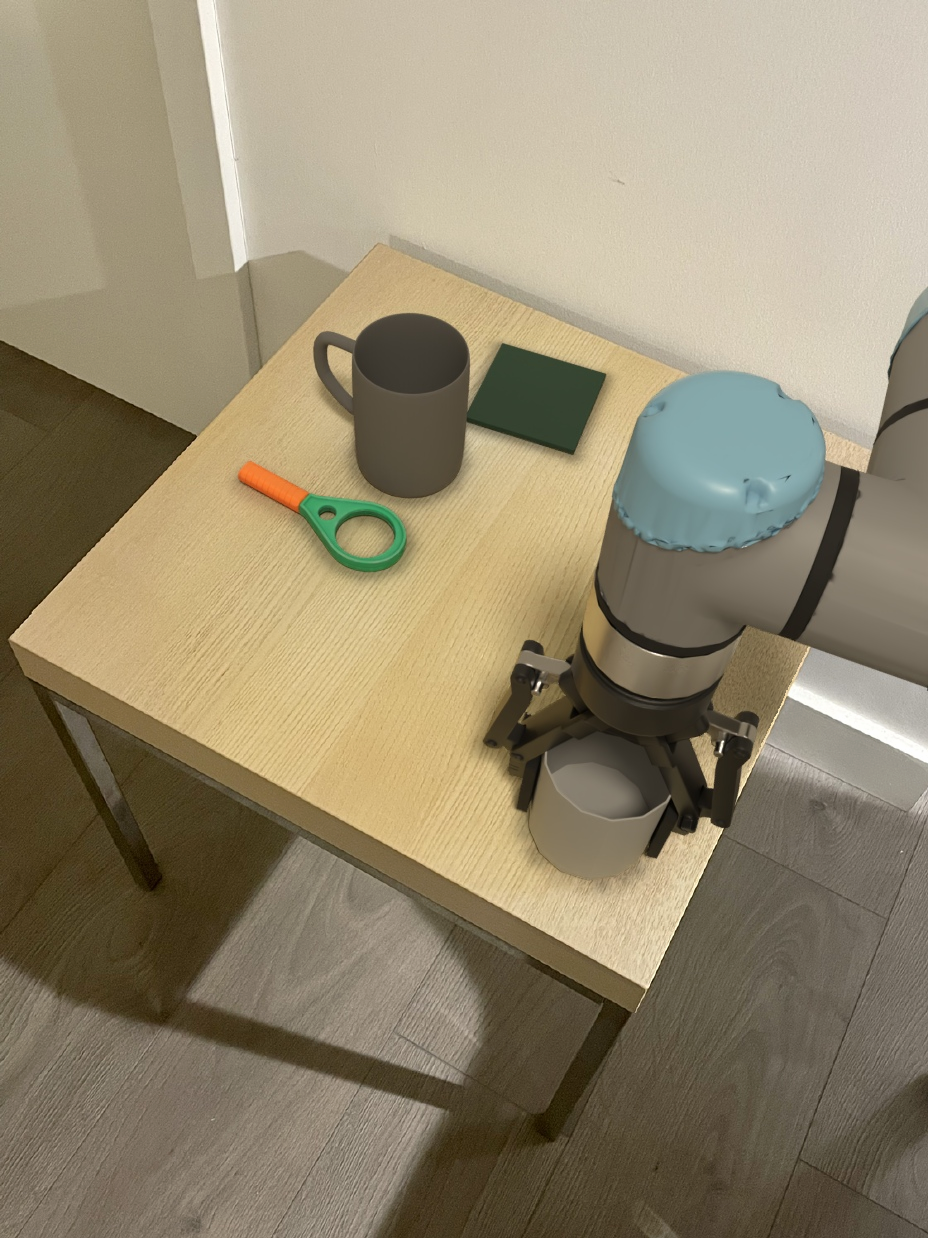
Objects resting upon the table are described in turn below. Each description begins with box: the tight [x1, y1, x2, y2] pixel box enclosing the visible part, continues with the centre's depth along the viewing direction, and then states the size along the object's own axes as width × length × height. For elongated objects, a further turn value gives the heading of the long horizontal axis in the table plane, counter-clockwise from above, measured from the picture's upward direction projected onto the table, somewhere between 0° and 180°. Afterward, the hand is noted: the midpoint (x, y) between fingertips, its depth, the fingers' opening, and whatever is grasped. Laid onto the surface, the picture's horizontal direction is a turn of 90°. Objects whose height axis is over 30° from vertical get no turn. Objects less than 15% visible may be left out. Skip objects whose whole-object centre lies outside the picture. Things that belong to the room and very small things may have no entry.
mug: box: [312, 312, 471, 499], centre depth 86 cm, size 14×9×12 cm
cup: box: [528, 731, 671, 881], centre depth 69 cm, size 8×8×10 cm
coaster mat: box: [466, 342, 607, 456], centre depth 95 cm, size 10×10×1 cm
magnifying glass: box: [237, 460, 407, 573], centre depth 86 cm, size 15×6×2 cm, turn 59°
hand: (591, 815), depth 73 cm, fingers closed on cup, 8 cm apart
